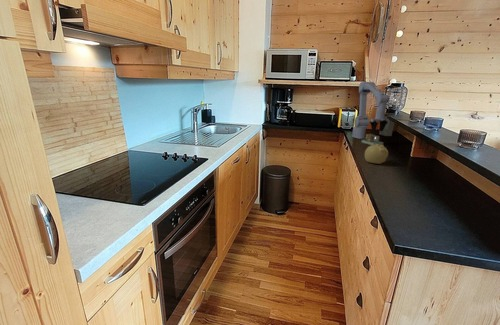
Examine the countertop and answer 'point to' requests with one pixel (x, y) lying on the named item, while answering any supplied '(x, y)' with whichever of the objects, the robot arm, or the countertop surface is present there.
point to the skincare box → (387, 128)
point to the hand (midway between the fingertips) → (377, 131)
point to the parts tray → (371, 142)
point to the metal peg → (376, 139)
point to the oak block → (369, 137)
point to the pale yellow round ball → (376, 154)
